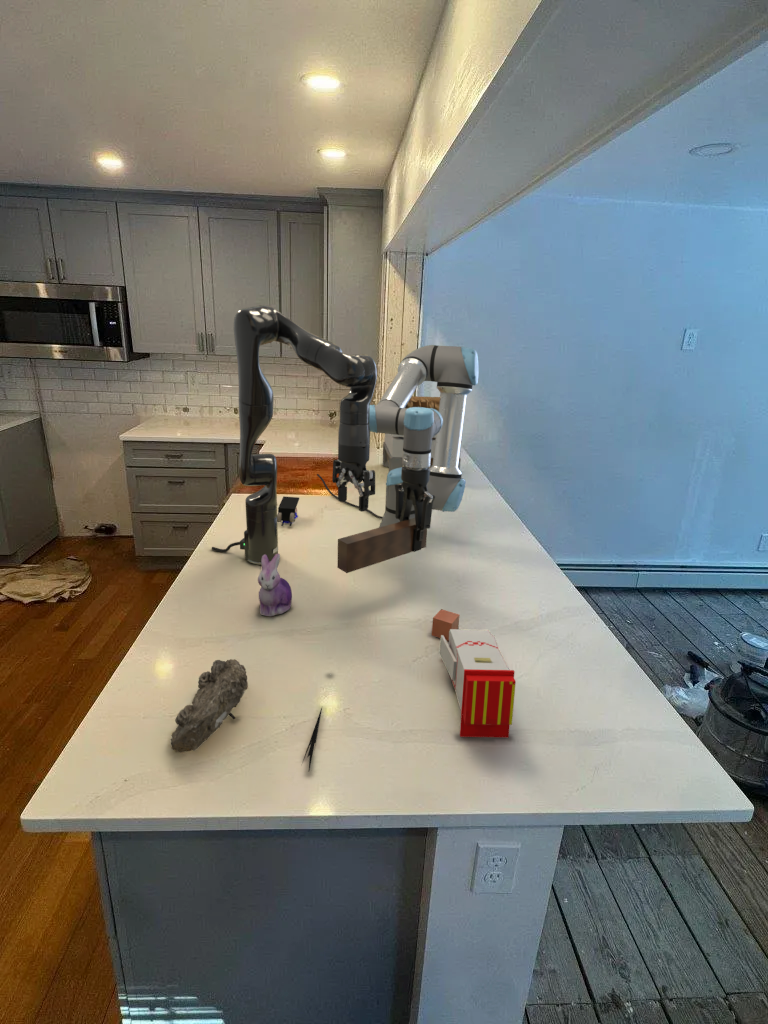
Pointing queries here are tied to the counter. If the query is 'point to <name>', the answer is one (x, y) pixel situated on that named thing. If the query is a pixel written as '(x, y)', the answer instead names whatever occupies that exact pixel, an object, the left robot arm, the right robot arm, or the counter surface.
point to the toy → (479, 682)
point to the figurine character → (287, 510)
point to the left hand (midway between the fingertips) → (352, 505)
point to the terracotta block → (444, 623)
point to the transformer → (395, 442)
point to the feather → (313, 740)
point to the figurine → (273, 588)
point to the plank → (376, 545)
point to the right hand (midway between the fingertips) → (410, 547)
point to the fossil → (210, 704)
